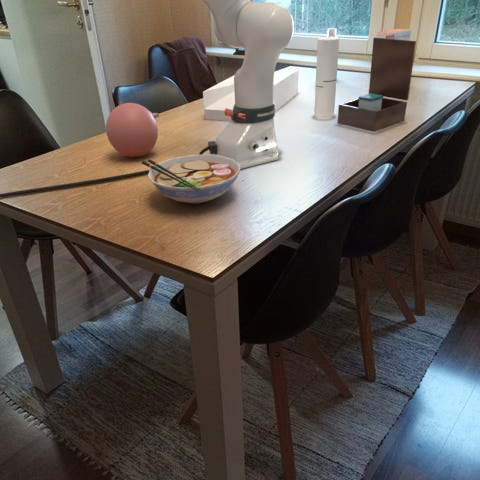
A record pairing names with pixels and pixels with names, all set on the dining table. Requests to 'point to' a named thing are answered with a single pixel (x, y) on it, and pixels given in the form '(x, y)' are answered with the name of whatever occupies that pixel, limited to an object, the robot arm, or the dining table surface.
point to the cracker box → (395, 34)
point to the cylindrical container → (326, 76)
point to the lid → (391, 67)
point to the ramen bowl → (194, 177)
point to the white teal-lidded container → (370, 102)
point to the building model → (225, 94)
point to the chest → (372, 114)
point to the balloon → (132, 129)
